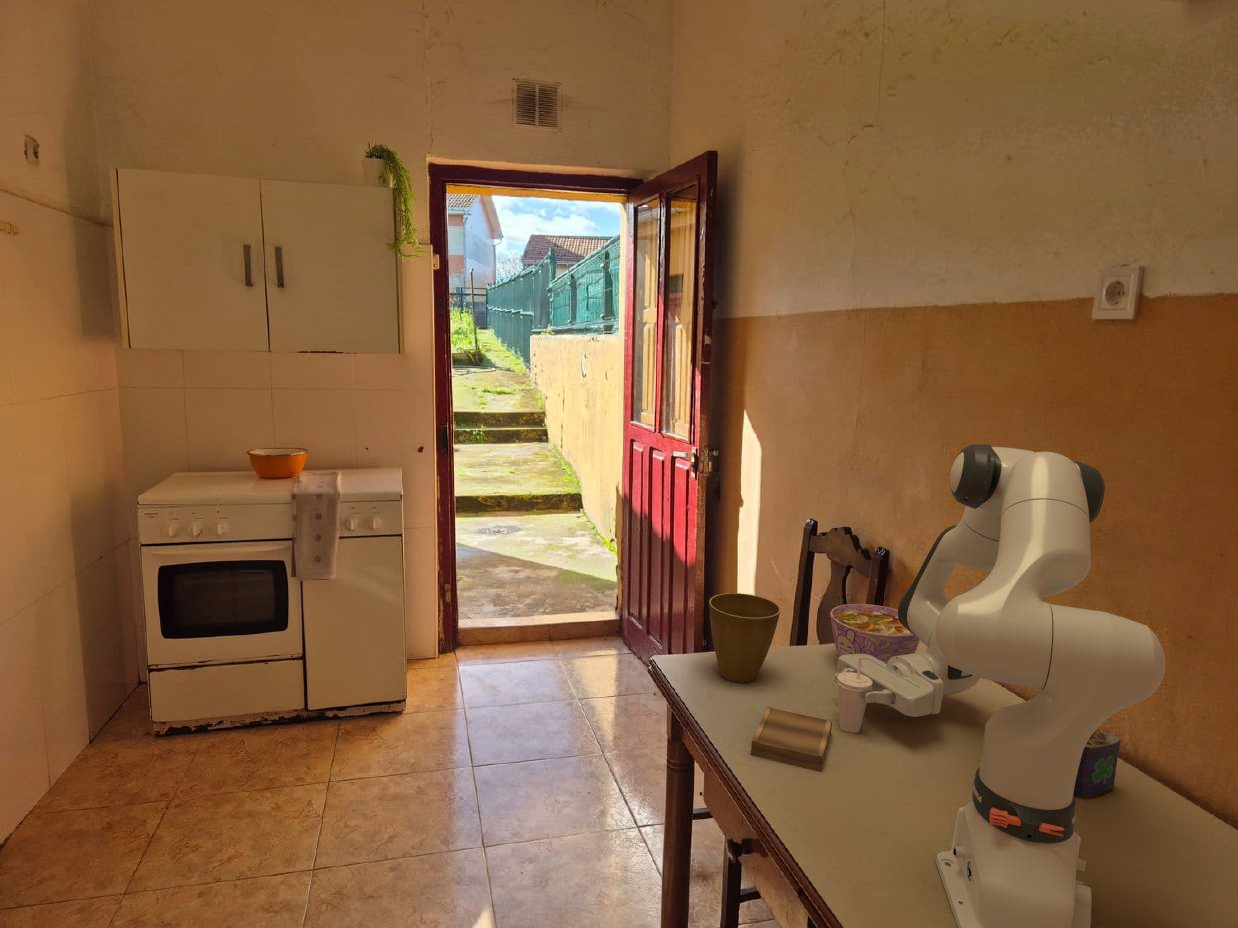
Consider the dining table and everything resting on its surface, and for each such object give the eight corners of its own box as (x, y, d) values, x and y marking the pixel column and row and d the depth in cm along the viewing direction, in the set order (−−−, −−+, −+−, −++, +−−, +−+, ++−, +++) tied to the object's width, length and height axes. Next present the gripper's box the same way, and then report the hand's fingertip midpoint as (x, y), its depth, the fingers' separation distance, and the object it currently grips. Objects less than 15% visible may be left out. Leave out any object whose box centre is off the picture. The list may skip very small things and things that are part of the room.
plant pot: (693, 680, 163) (698, 607, 160) (718, 656, 176) (723, 588, 173) (762, 697, 156) (768, 622, 153) (782, 671, 169) (788, 601, 166)
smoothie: (867, 739, 141) (875, 666, 139) (830, 731, 143) (838, 660, 141) (868, 723, 147) (875, 653, 145) (833, 716, 149) (840, 647, 147)
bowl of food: (822, 677, 167) (827, 626, 165) (828, 644, 186) (832, 598, 184) (921, 695, 161) (927, 642, 159) (917, 659, 180) (922, 611, 178)
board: (821, 771, 130) (823, 756, 129) (750, 754, 134) (751, 739, 134) (831, 733, 143) (832, 719, 142) (765, 719, 147) (767, 706, 146)
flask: (1102, 781, 131) (1111, 722, 129) (1119, 790, 128) (1129, 730, 127) (1065, 792, 127) (1074, 731, 125) (1082, 802, 125) (1092, 740, 123)
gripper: (871, 642, 158) (816, 650, 153) (950, 684, 140) (890, 695, 134) (868, 671, 159) (813, 680, 154) (946, 717, 141) (887, 729, 135)
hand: (850, 688), depth 144 cm, fingers closed on smoothie, 6 cm apart
